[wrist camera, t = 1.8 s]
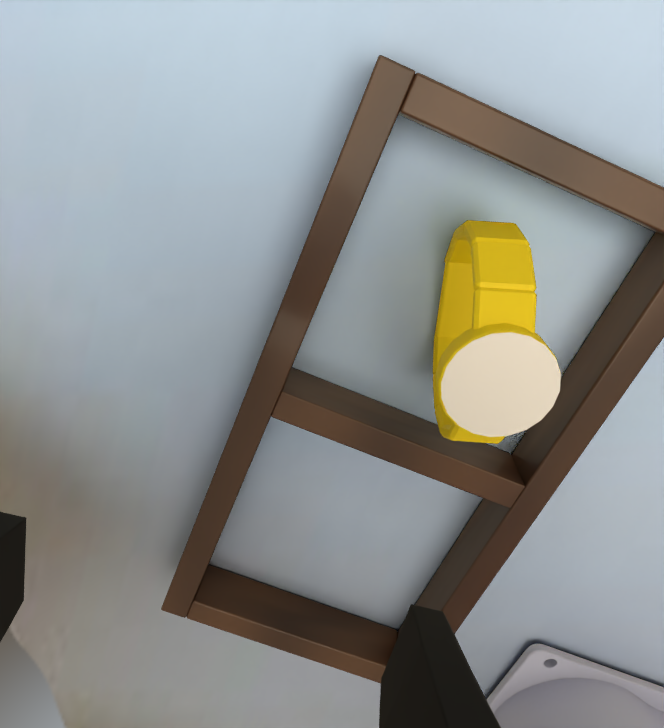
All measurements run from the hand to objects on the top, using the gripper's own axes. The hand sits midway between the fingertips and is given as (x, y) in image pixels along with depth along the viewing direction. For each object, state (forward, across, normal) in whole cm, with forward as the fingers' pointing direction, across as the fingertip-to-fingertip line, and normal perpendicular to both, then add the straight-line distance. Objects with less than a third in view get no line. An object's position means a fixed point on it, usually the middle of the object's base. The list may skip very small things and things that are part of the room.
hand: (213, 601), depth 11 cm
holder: (+10, -4, +1) cm, 11 cm away
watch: (+10, -5, -4) cm, 12 cm away
